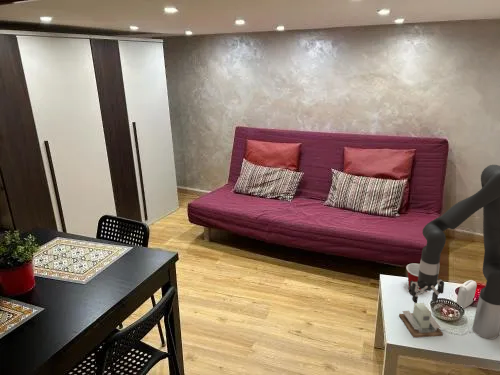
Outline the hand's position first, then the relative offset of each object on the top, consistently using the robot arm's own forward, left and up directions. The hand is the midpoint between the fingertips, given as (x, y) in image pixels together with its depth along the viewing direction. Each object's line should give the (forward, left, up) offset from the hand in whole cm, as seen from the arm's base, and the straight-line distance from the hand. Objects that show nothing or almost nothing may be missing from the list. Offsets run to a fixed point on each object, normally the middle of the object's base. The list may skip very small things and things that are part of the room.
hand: (424, 301), depth 159 cm
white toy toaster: (-29, -13, -13) cm, 34 cm away
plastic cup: (-11, -27, -13) cm, 32 cm away
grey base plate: (0, 0, -12) cm, 12 cm away
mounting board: (0, 0, -13) cm, 13 cm away
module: (0, 0, -12) cm, 12 cm away
